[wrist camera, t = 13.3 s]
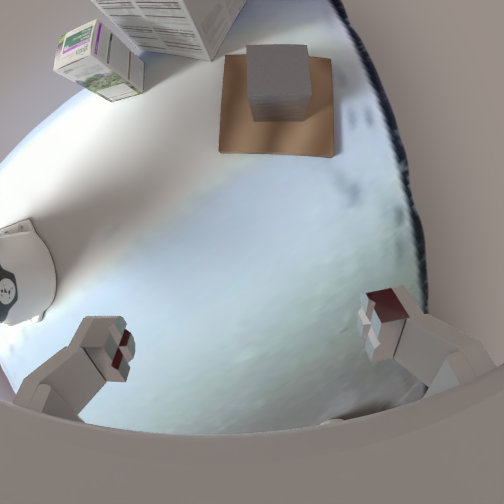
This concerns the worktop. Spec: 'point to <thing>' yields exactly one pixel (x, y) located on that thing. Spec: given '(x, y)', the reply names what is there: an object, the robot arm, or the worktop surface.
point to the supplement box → (174, 24)
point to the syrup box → (99, 62)
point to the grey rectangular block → (278, 82)
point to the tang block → (276, 133)
